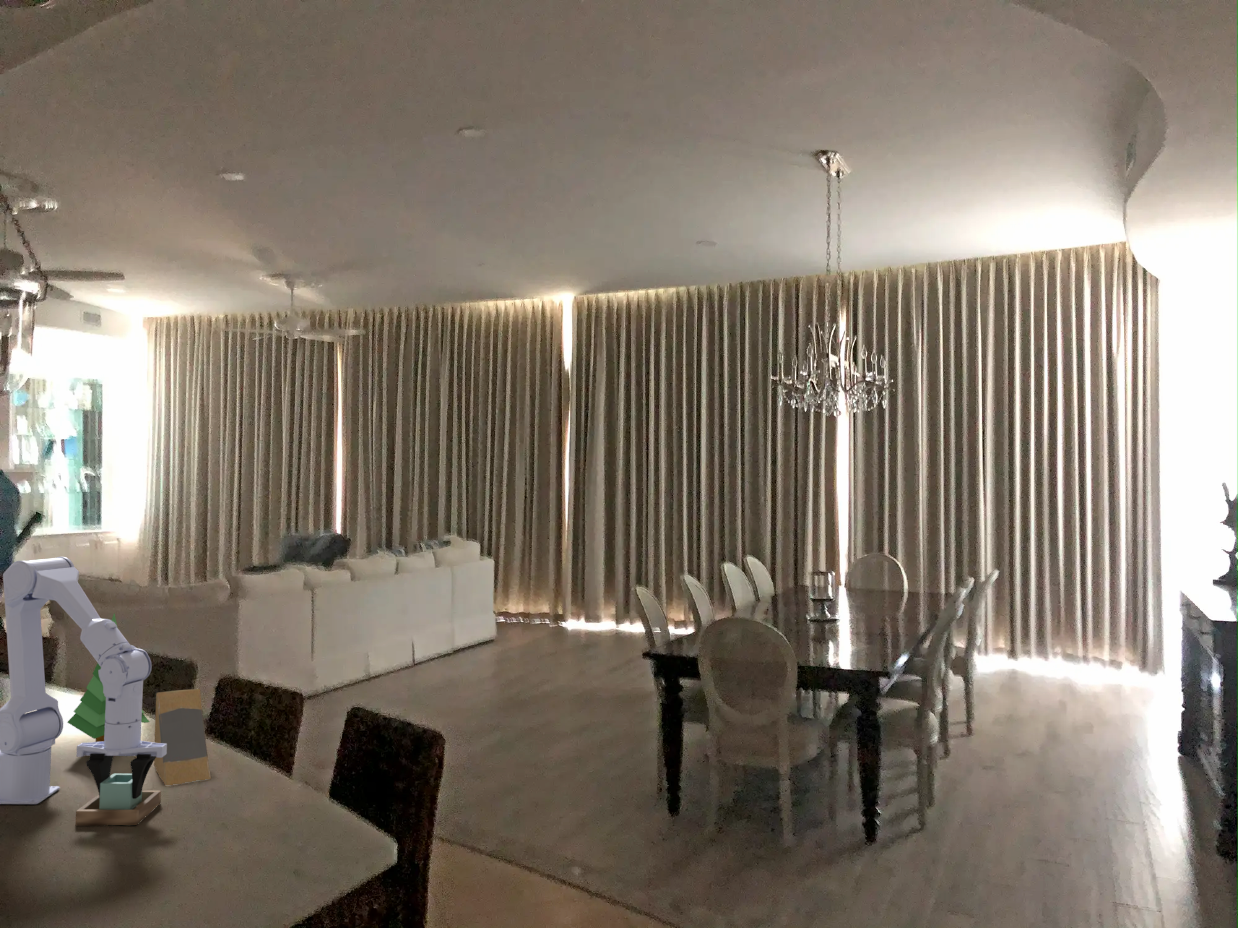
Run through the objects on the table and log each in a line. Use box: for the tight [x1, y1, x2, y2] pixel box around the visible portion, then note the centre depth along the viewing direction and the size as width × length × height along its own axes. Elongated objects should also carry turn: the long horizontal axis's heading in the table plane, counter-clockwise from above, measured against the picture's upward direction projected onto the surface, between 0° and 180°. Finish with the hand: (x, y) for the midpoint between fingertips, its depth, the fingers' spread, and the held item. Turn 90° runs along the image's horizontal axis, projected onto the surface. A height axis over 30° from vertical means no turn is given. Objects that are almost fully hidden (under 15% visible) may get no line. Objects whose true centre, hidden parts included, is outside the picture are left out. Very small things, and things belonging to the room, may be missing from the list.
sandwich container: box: [153, 688, 212, 786], centre depth 182 cm, size 9×15×15 cm, turn 35°
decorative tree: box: [66, 612, 150, 742], centre depth 191 cm, size 14×16×30 cm
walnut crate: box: [75, 789, 162, 827], centre depth 159 cm, size 10×10×2 cm
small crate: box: [99, 772, 142, 810], centre depth 159 cm, size 5×5×5 cm
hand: (120, 796), depth 159 cm, fingers closed on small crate, 5 cm apart
